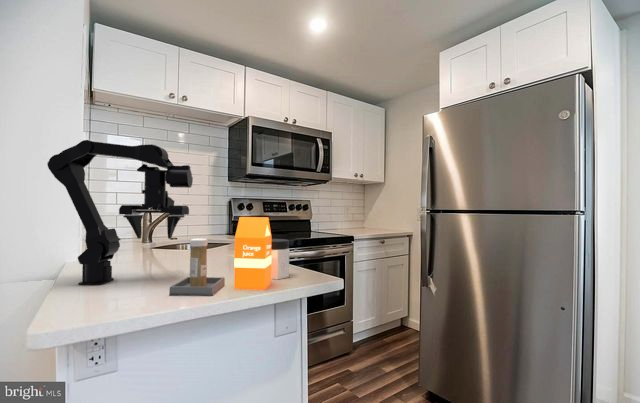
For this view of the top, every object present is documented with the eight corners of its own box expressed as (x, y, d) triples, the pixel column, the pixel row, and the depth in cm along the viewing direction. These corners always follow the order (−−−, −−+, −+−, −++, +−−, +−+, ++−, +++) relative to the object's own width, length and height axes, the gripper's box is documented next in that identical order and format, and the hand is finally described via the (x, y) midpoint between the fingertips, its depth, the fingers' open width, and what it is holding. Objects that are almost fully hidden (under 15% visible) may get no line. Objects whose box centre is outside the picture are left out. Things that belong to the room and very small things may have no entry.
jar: (272, 281, 99) (272, 242, 99) (257, 276, 105) (258, 240, 105) (294, 276, 105) (294, 240, 105) (279, 272, 111) (280, 238, 111)
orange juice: (242, 282, 98) (243, 216, 98) (271, 283, 97) (272, 216, 97) (233, 288, 90) (234, 217, 90) (264, 290, 89) (265, 218, 89)
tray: (169, 295, 83) (169, 286, 83) (187, 284, 94) (187, 277, 94) (212, 295, 83) (212, 287, 83) (224, 285, 94) (224, 277, 94)
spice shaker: (208, 288, 88) (209, 239, 88) (191, 290, 85) (192, 240, 85) (204, 284, 91) (204, 237, 92) (187, 286, 89) (188, 238, 89)
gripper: (196, 188, 105) (195, 236, 105) (139, 188, 105) (138, 235, 105) (181, 186, 94) (180, 240, 94) (118, 186, 94) (117, 239, 94)
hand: (154, 238), depth 97 cm, fingers open, 9 cm apart
